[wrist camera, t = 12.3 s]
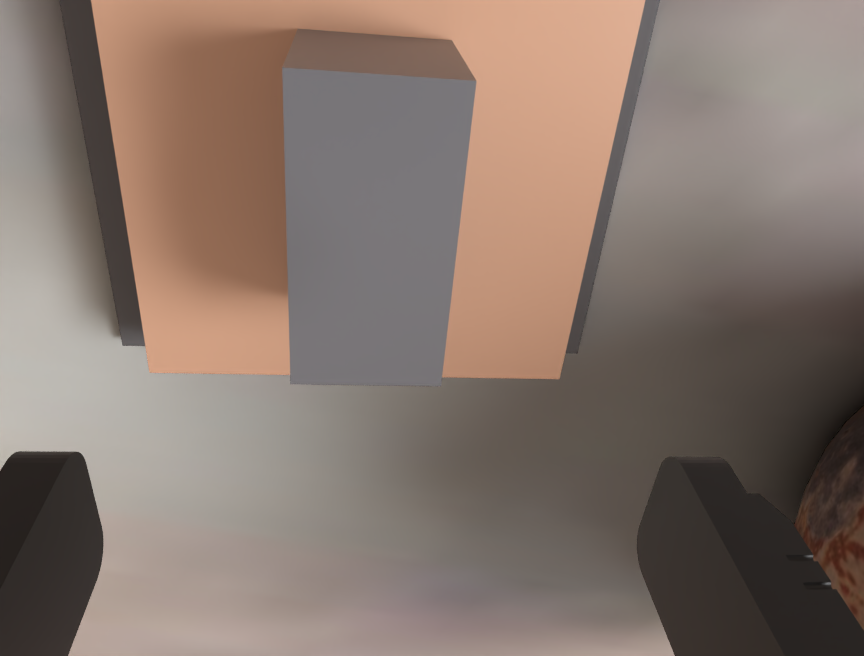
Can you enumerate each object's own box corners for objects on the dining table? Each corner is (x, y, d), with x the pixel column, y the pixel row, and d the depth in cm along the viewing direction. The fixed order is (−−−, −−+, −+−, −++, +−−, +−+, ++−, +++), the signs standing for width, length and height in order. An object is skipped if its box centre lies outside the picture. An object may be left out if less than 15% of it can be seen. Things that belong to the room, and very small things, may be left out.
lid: (630, -77, 19) (746, -60, 14) (544, 341, 27) (596, 468, 21) (102, -130, 18) (-20, -136, 12) (166, 333, 25) (109, 468, 19)
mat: (674, -94, 20) (681, -94, 19) (574, 346, 28) (577, 353, 27) (38, -157, 18) (30, -158, 17) (126, 338, 26) (122, 345, 25)
